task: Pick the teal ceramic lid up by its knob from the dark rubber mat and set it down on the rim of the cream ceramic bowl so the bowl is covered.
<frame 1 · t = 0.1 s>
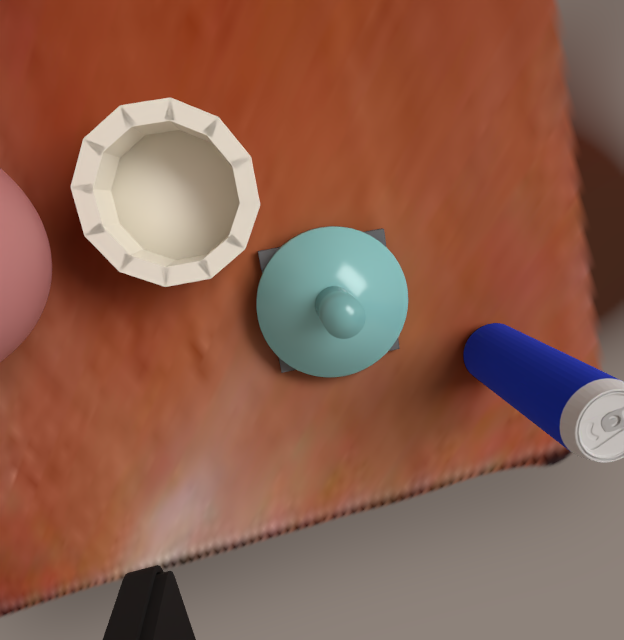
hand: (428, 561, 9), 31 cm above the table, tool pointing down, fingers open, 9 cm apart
lid: (331, 302, 39), point 1 cm above the table, touching mat
beverage can: (487, 349, 43), on the table
bowl: (178, 196, 36), on the table
mat: (330, 300, 40), on the table
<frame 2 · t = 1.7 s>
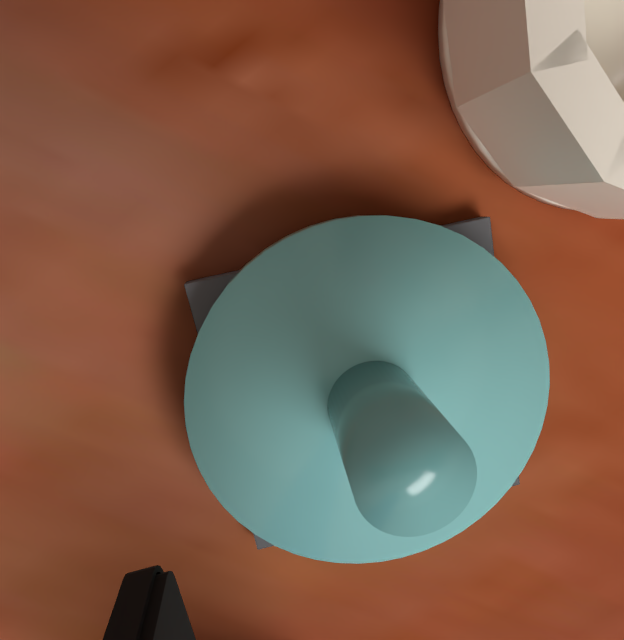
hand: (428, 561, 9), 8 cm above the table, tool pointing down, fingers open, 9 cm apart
lid: (366, 393, 17), point 1 cm above the table, touching mat
bowl: (615, 23, 15), on the table
mat: (363, 386, 17), on the table
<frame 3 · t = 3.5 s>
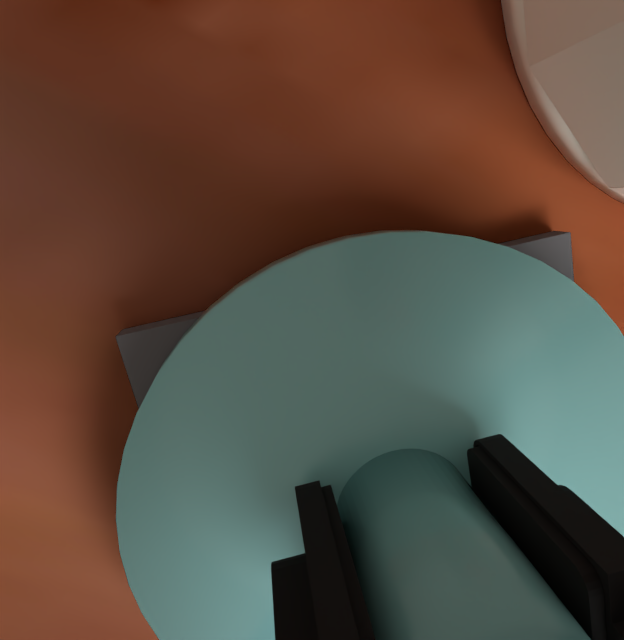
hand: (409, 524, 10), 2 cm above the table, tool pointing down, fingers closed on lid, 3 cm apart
lid: (390, 485, 12), point 1 cm above the table, touching gripper, mat
mat: (382, 472, 12), on the table
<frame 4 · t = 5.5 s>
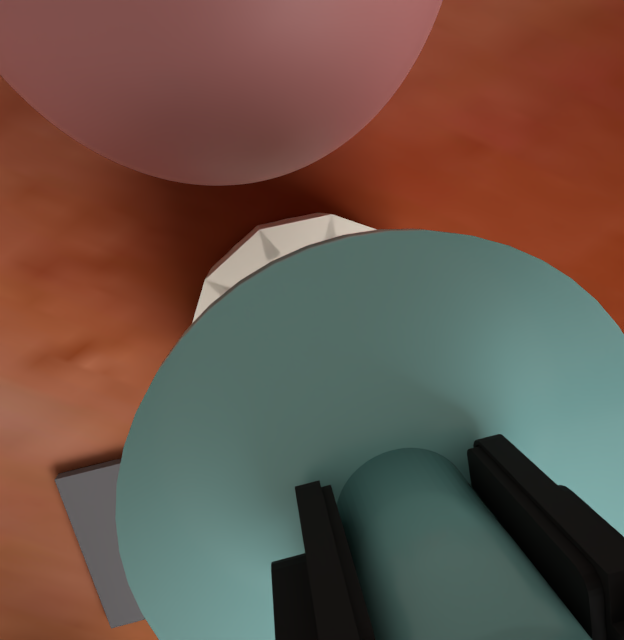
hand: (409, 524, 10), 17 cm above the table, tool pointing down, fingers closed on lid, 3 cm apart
lid: (390, 485, 12), point 15 cm above the table, touching gripper
bowl: (308, 324, 26), on the table
mat: (174, 527, 28), on the table
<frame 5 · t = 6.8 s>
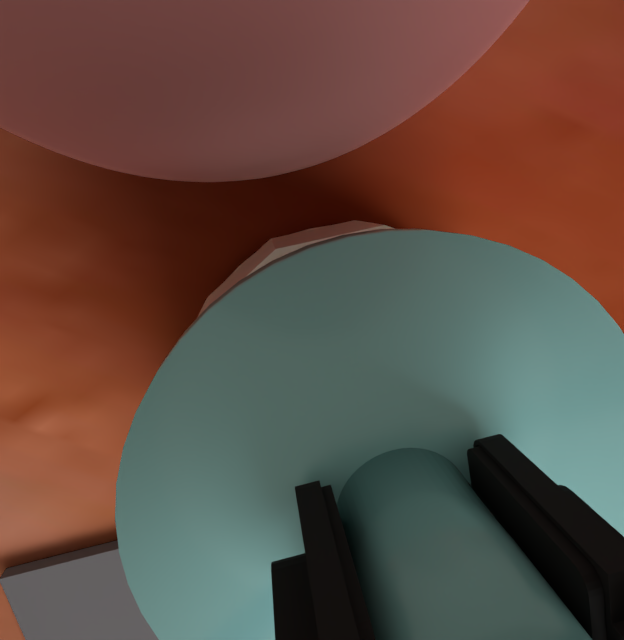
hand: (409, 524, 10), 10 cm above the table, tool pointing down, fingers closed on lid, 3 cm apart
lid: (390, 485, 12), point 8 cm above the table, touching gripper
bowl: (339, 370, 20), on the table
mat: (162, 632, 22), on the table
when the fingers open (8 cm above the table, at t = 7.8 s): lid drops 2 cm, resting on bowl.
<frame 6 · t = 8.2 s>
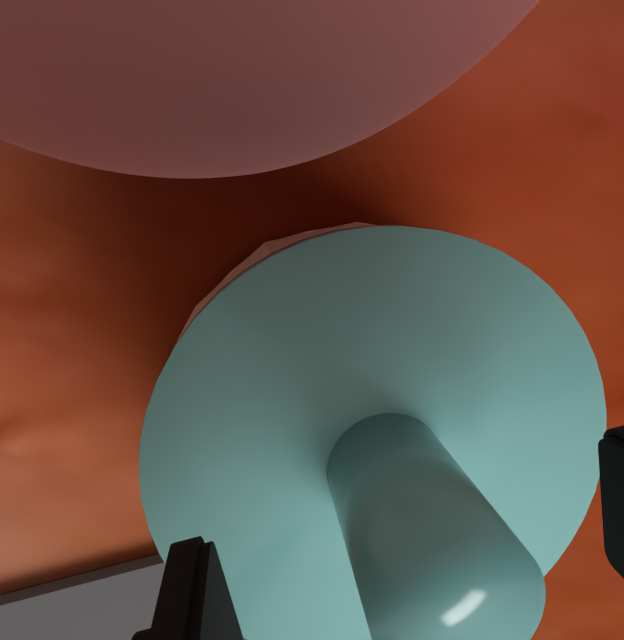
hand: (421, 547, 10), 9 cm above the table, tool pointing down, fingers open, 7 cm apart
lid: (375, 449, 13), point 5 cm above the table, touching bowl
bowl: (339, 384, 18), on the table
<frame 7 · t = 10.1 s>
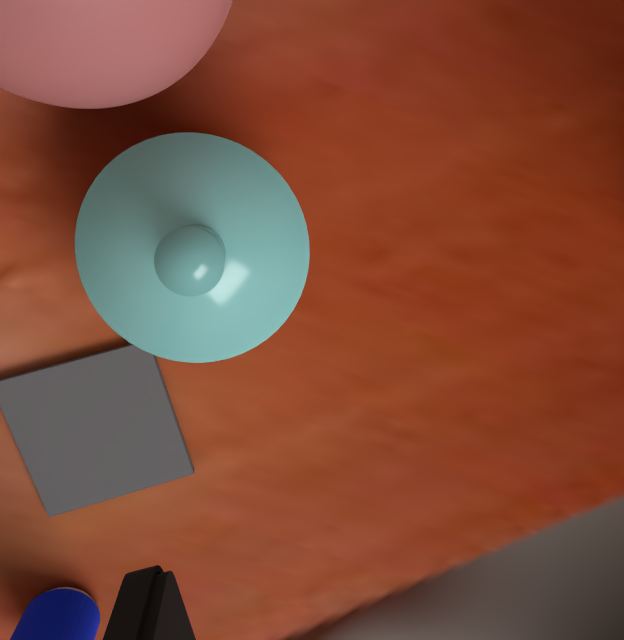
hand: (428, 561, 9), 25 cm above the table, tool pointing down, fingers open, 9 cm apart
lid: (197, 251, 27), point 5 cm above the table, touching bowl
beverage can: (65, 610, 36), on the table
mat: (99, 427, 33), on the table
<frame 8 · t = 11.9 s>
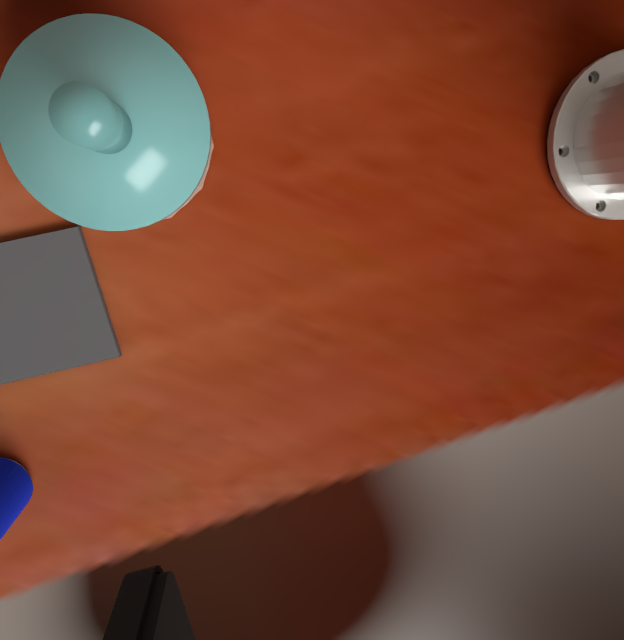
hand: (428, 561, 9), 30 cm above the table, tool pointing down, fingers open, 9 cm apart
lid: (110, 129, 30), point 5 cm above the table, touching bowl
beverage can: (2, 480, 39), on the table
mat: (34, 307, 36), on the table
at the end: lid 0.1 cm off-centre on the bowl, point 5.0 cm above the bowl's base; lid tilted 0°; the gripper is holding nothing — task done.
